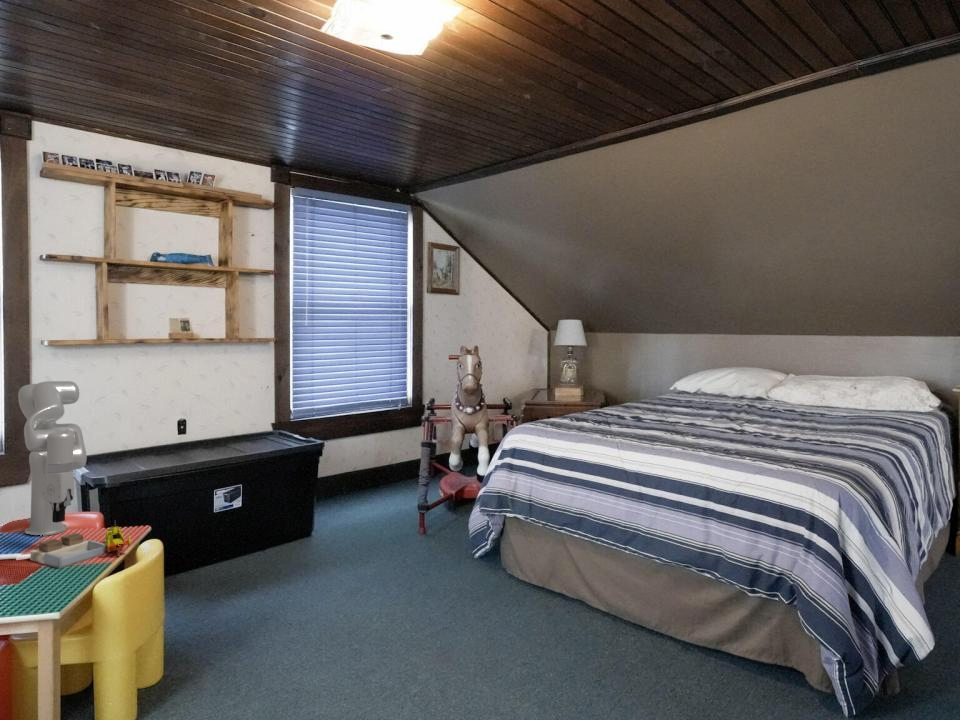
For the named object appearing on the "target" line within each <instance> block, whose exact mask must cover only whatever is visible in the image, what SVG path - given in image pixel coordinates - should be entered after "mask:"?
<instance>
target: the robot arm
mask: <svg viewBox="0 0 960 720" xmlns="http://www.w3.org/2000/svg"><path fill="white" fill-rule="evenodd" d="M79 398H80V388H79V386H78V385H77V383H76V382H74V381H71V380H65V381H63V380H58V381H57V380H56V381H54V380H53V381H52V380H48V381H41V382H38V383H30V384H26V385H24V386H22V387H20V389H19V390H18V404H19V407H20V410H21V412H22V414H23V415H24V417H25V418H26V422H25V424H24V428H23V435H24V442H25V447H26V449H27V450H29V451H30V453H29V457H28V460H29V461H28V463H29V469H30V475H31V478H30V479H31V490H30V491H31V492H30V493H31V497H30V518H29V519H27V520H26V522H27V523H29V527H27V528H26V529H25V530H24V534H25V533H26V534H31V535H40V536H39V537H45V536H46V537H47V536H53V535H57V534H61V533H62V532H65V531H66V530H67V528H68V526H67V524H64V523H63V522H65V520H66V509H67V507H68V506H69V507H70V506H71V505H72V501H73V500H74V497H75V481H74V473H73V471H75V470H80V469H82V468H83V467H85V466H86V463H87V458H88V457H87V456H88V455H87V451H86V445H85V442H84V437H83V431H82V430H81V427H80V426H79V425H78V424H76V423H57V421H58V420H60V419H61V418H62V417H64V415H65V407H64V405H72V404H75V403H77V401H79ZM26 534H25V535H26ZM42 535H43V536H42Z"/></svg>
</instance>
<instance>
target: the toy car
mask: <svg viewBox="0 0 960 720" xmlns="http://www.w3.org/2000/svg"><path fill="white" fill-rule="evenodd" d="M116 521H117V520H114V522H113V523H114V524H113V526H111V527H110V528H108V529H107V531H106V532H105V542H104V544H105V548H107V550H108V551H110V552H115V551H114V550H116V553H117V556H118V555H119V556H120V555H122V554H123V553H122V550H124V547H125V546H131V536H128V537H127V540H126V541H125V539H124V534H123V533H121V532H124V529H120V528H119V525H118V526H117V522H116ZM118 544H119V545H121V546H122V547H121V546H118ZM116 546H118V547H116Z"/></svg>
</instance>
